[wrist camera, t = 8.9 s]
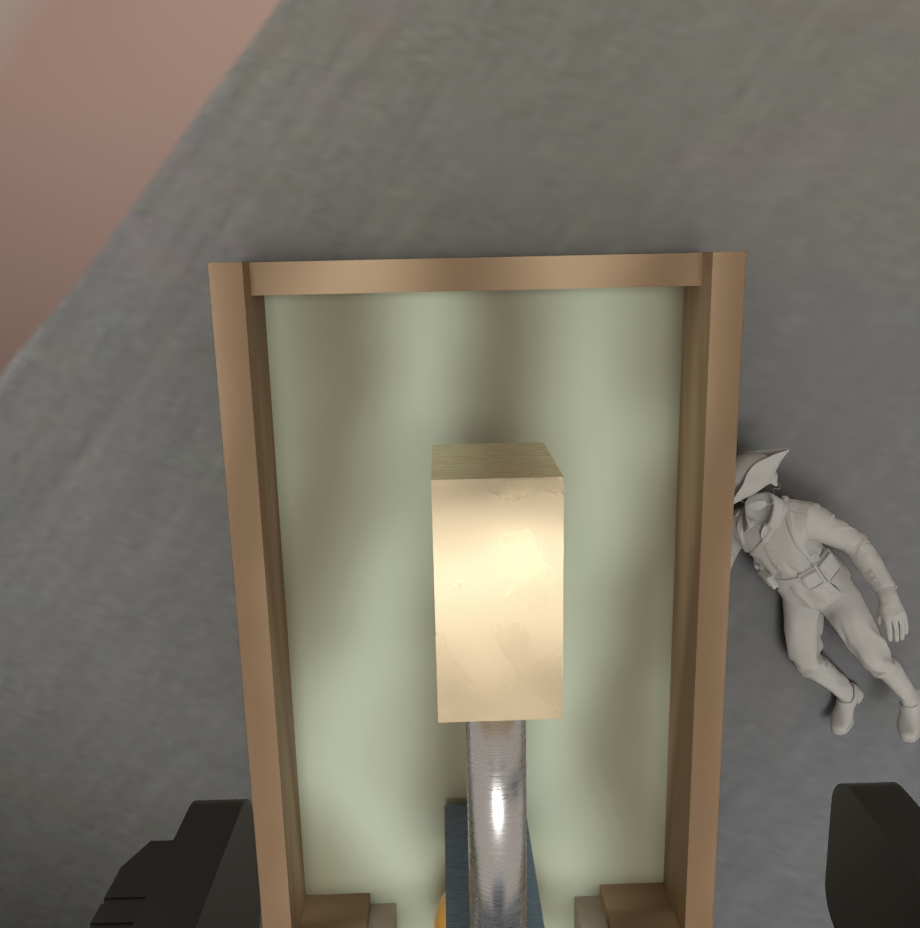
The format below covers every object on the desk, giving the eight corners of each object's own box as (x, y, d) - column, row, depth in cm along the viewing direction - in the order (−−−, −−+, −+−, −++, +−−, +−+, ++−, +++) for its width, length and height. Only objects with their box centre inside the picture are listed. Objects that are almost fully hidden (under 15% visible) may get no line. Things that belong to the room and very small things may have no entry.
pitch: (701, 253, 30) (782, 249, 23) (673, 979, 37) (729, 1149, 30) (241, 263, 30) (180, 262, 23) (295, 994, 37) (261, 1169, 30)
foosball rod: (522, 407, 29) (575, 495, 18) (524, 856, 33) (569, 1163, 22) (433, 409, 29) (430, 499, 18) (446, 859, 33) (449, 1168, 22)
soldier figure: (761, 729, 36) (607, 558, 30) (785, 627, 38) (648, 451, 33) (971, 752, 30) (833, 548, 24) (984, 631, 33) (861, 420, 27)
